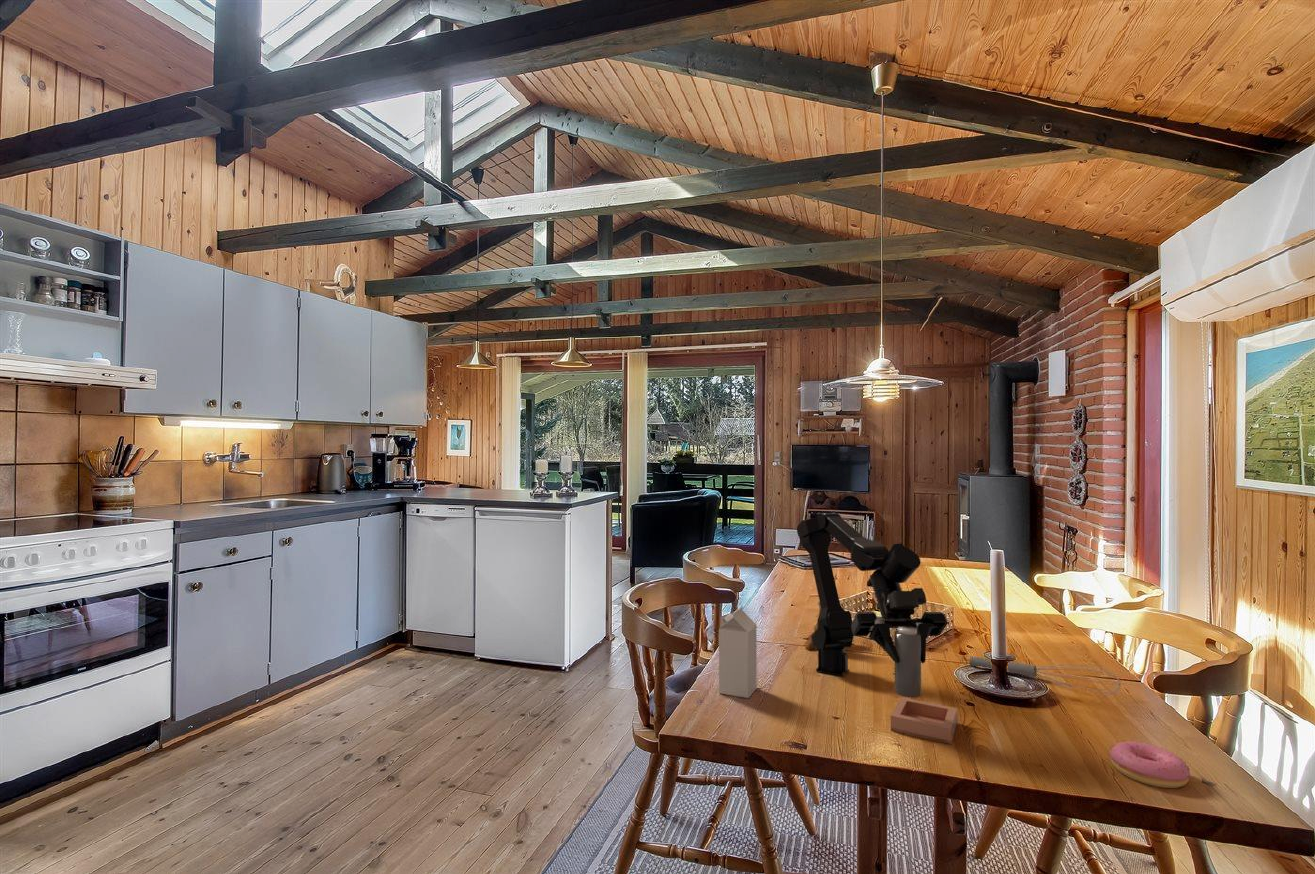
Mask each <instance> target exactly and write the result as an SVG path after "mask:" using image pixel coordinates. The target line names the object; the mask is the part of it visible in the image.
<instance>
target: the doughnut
mask: <svg viewBox="0 0 1315 874" xmlns="http://www.w3.org/2000/svg"><path fill="white" fill-rule="evenodd" d="M1108 756H1110V760H1111V763H1112V764H1113V767H1115V768H1116V769H1117V771H1118V772H1120V773H1122V775H1125V776H1126V777H1128V778H1130V779H1132V780H1135V781H1136V782H1138V783H1142V784H1143V785H1148V786H1151V787H1157V788H1162V789H1176V788H1181V787H1184V786H1185V785H1186V784H1187V783H1188V782H1189V780H1190V779H1189V778H1190V776H1191V772H1190V768H1189V765H1187V764H1186V762H1185V761H1184V760H1183V759H1182V758H1180V756H1178V755H1177V754H1175V753H1173V752H1171V751H1169V750H1167V749H1164V748H1163V747H1159V746H1156V745H1152V744H1148V743H1146V742H1145V743H1144V742H1142V741H1141V742H1138V741H1125V740H1123V741H1121V742H1116V744H1114V745H1112V748H1110V752H1109V754H1108Z"/></svg>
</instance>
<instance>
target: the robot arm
mask: <svg viewBox="0 0 1315 874" xmlns="http://www.w3.org/2000/svg"><path fill="white" fill-rule="evenodd" d="M796 532H797V536H798V539H799V541H800V545H801V547H803V548H804V550H805V551H806V552H807V553H808V555H809V557H810V563H811V567H812V572H813V576H814V577H813V578H814V581H815V585H816V591H817V595H818V600H819V601H820V605H821V611H820V614H819V613H818V617H817V622H818V629H817V630H816V631H815V633H814V634H813V635H812V643H813V645H814V646H816V647H818V649H817V652H818V653H817V660H818V661H817V666H818V667H816V669H815V671H816V672H818V673H823V674H828V675H833V676H838V677H842V676H843V675H844V674H845V672H847V671H848V669H849V657H848V656H849V654H848V652H846V651H847V649H846V648H852V645H853V641H854V637H868V638H869V640H870V641H871V640H872V641H874V642H875V643H876V644H877V645H879V646H880V647H881V649H883V650H884V651H885V653H886V654H887V655H888V656H889V657H890V658H891V660H892V661H893V662H894V664H895V663H898V662H899V659H898V654H897V651H896V649H895V642H894V640H893V638H892V636H891V629H898V627H899V626H910V627H914V628H916V629H917V632H918V633H920V634H921V664H925V663H926V662H927V661H926V660H927V659H926V657H927V656H926V655H927V650H926V649H927V639H928V637H939V636H941V634H942V633H943V631H944V630H945V628H946V626H947V625H948V623H949V621H948V619H947V616H946V615H945V614H944V613H943V612H941V611H924V613H923V614H922V615H921V617H920V618H917V617H916V618H912V615H914V614H915V608H919V607H920V606H922V605H923V606H924V605H925V604H926V603H927V597H926V593H925V590H924V589H923V588H922V587H914V588H913V589H911V590H902V587H901V584H903V583H905V582H907V581H908V579H909V578H911V576H912V575H913V574H914V573H915V572H916V570H918V569H919V567H920V566H921V559H920V556H919V555H918V553H916V552H915V551H913V550H912V549H910V548H908V547H906V546H905V545H904V544H903V543H902V542H898V543H893V545H892V546H891V548H890V550H889V548H887V547H886V545H884V544H882V543H881V542H878V541H877V540H874V539H873V540H872V539H868V538H866V537H864V535H862V534H860V532H858V531H857V530H856V529H855V528H854V527H852V526H851V525H850V524H849V523H848V522H846V520H844V519H843V518H842V517H841V514H839V513H837V512H826V513H825V512H823V513H821V514H819V515H817V516H814V517H812V518H809V519H803V520H801V521H800V522H799V523H798V525H797V526H796ZM832 537H833V538H834V539H835V540H836V541H837V542H838V543H839V544H841V545H842V547H844V548H845V549H846V550H847V551H848V552H849V554H850V561H851V562H852V563H853V564H854V565H855V566H856V568H857V569H858V570H859V571H861V572H867V571H869V572H870V571H874V572H873V573H872V574H870V576H869V579H868V580H867V581H866V587H869V588H870V587H871V588H872V589H873V592H874V597H875V600H876V602H877V603H876V604H875V607H876V609H877V610H879V613H880V616H877V614H876V613H875V612H874V611H857V612H856V614H855V615H854V617H853V619H852V614H851V611H849V610H846V609H844V608H843V606H842V605H841V602H840V596H839V593H838V589H837V585H836V584H837V583H836V580H835V576H834V575H835V574H834V571H833V567H832V561H831V558H830V553H829V549H830V546H831V543H832ZM819 601H818V602H819Z"/></svg>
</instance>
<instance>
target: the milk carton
mask: <svg viewBox="0 0 1315 874" xmlns="http://www.w3.org/2000/svg"><path fill="white" fill-rule="evenodd" d="M743 609H744V606H743V605H741V606H740V607H739V608H737V609H736V610H735V611H734V612H730V613H729V614H727V615H726V616H725V617H723V619H724V620H725V623H724V624H723V625H721V626H720V627H719V629H718V693H719V694H723V695H728V696H734V697H737V698H738V697H740V698H745V699H749V698H750V697H751V695H752V694H753V693H754V692H755V690H756V689H757V685H758V684H757V683H758V682H757V680H758V677H757V676H758V675H757V674H758V673H757V669H758V668H757V667H758V666H757V663H758V662H757V660H758V659H757V656H758V655H757V654H758V653H757V650H758V649H757V648H758V647H757V636H758V635H757V634H758V633H757V630H758V629H757V624H756V622H754V620H753V619H752V618H751V617H750V616H749V615H748V614H747V613H746V612H745V611H744V610H743Z"/></svg>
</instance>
